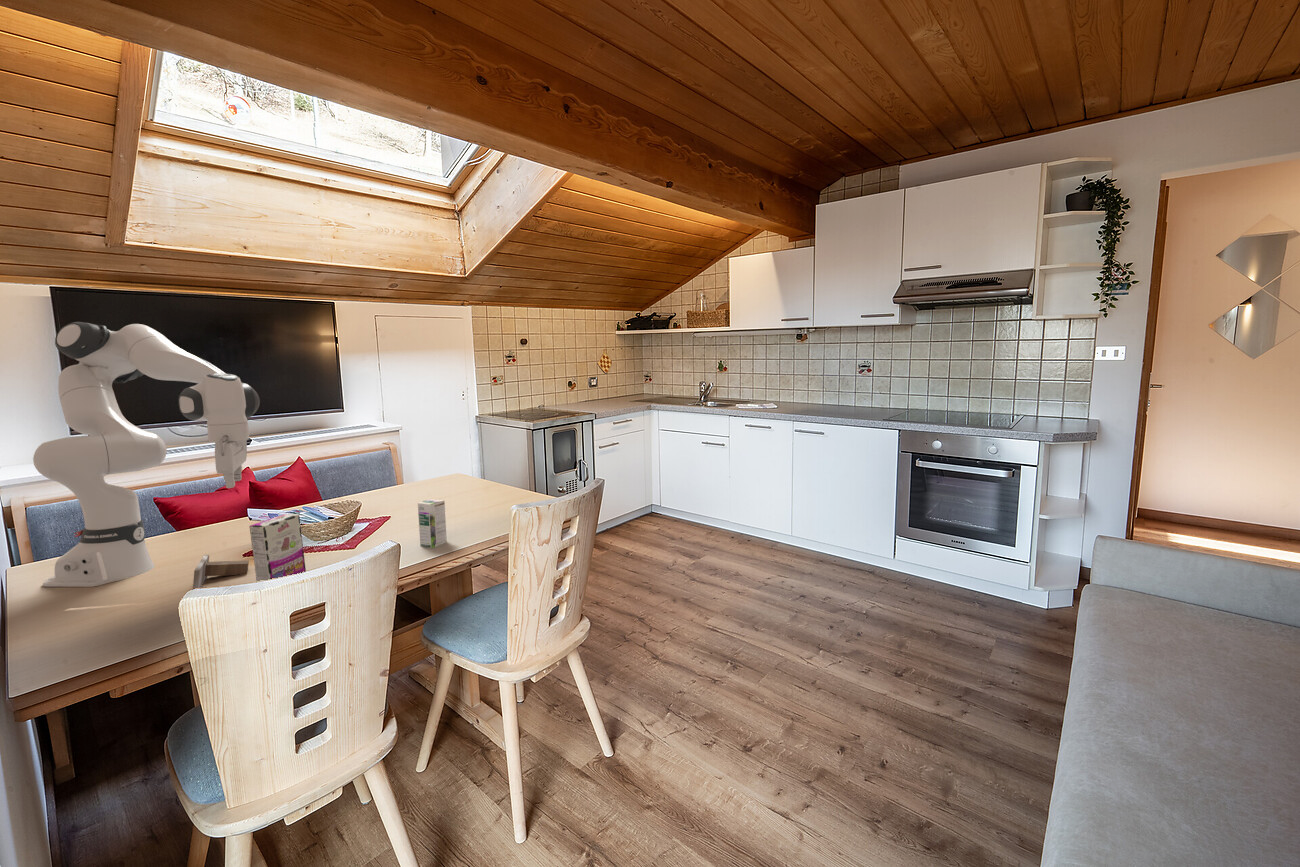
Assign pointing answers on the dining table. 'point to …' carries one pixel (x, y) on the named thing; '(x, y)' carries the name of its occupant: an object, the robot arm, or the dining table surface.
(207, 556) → the upright block on plate
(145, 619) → the dining table surface
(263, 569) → the candy bar box
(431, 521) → the syrup box
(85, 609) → the dining table surface
